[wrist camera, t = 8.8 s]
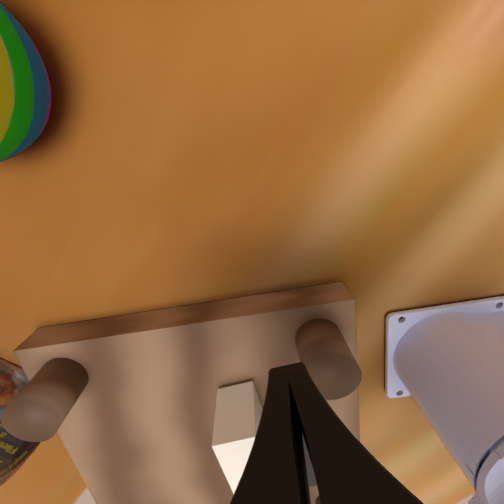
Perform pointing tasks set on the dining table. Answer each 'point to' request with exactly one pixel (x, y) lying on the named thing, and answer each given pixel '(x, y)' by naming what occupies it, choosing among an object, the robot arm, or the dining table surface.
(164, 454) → the stool seat
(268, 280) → the dining table surface
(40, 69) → the decorative egg
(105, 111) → the dining table surface
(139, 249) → the dining table surface
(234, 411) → the folding leg
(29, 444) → the tin
